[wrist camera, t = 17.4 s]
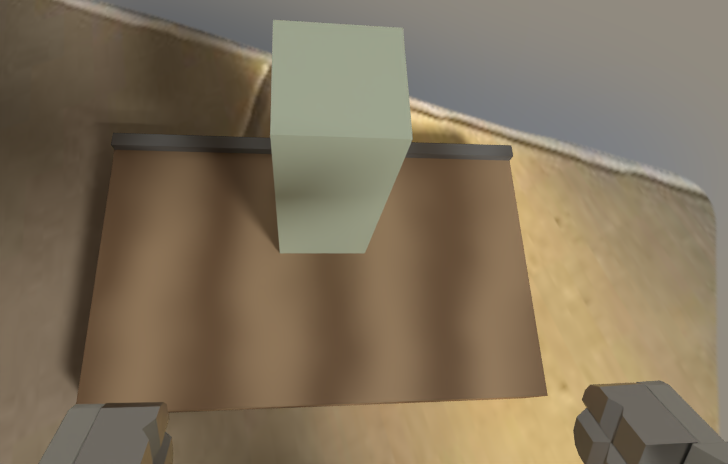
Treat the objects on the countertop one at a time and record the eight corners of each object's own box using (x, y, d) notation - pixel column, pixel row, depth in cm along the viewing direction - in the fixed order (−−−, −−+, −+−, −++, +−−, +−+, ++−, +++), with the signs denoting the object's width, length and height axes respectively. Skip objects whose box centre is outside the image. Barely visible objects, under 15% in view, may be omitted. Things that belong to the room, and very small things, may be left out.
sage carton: (279, 253, 29) (270, 134, 17) (281, 174, 31) (273, 17, 19) (364, 253, 30) (412, 139, 18) (361, 176, 32) (402, 25, 20)
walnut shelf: (96, 415, 28) (69, 414, 24) (131, 158, 33) (113, 128, 30) (524, 398, 31) (552, 395, 28) (490, 167, 37) (510, 141, 33)
